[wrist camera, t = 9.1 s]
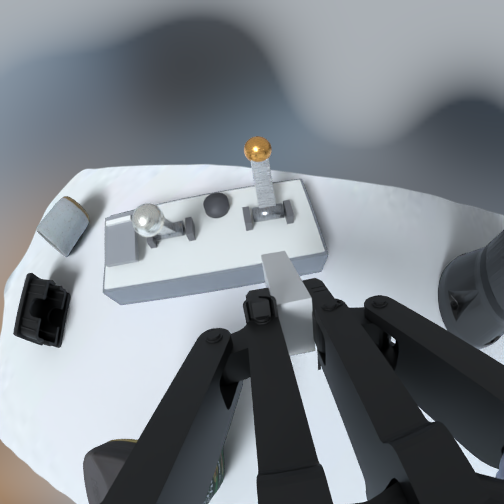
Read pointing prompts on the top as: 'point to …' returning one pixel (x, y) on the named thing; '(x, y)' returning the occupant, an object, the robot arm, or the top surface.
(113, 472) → the coffee jar
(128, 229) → the rocker grey
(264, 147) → the lever orange
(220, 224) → the console
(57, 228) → the ceramic mug
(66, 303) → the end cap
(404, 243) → the top surface
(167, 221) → the silver ball lever
